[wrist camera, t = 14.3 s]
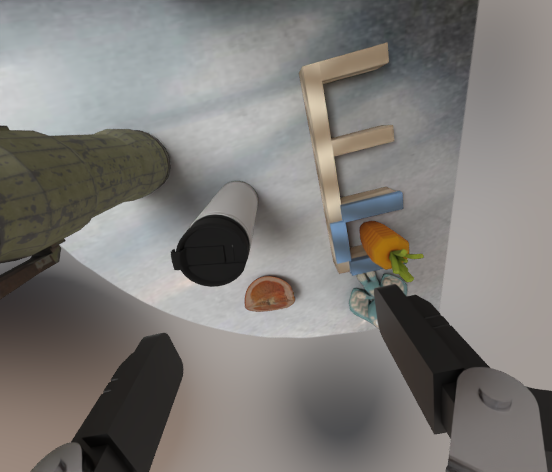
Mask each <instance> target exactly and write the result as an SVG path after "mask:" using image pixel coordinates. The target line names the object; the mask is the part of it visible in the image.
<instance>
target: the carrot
mask: <svg viewBox="0 0 552 472" xmlns="http://www.w3.org/2000/svg"><path fill="white" fill-rule="evenodd" d="M360 239H361V242H362V245H363V248H364V250H365V251H366V253H367V254H368V256H369V257H370V259H371V260H372V261H373V262H374V263H376V264H377V265H379V266H380V267H382V268H384V269H391V268H392V270H393V273H395V274H399V275H400V276H401V277H402V278H403V279H404V280H405V281H406V282H412V281H413V280H414V278H413V276H412V275H411V274H410V273H409V272H408V268H407V267H406V266H405V265H404V264H403V263H407V262H408V260H407V258H410V259H420V258H424V256H423V254H409V243H408V241H407V240H405V239H404V238H403V237H401V236H400V235H399V234H397V233H396V232H394V231H393V230H391V229H390V228H388V227H387V226H385V225H384V224H381V223H379V222H376V221H368V222H364V223H363V224H362V225H361V226H360Z"/></svg>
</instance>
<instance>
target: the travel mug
mask: <svg viewBox="0 0 552 472" xmlns="http://www.w3.org/2000/svg"><path fill="white" fill-rule="evenodd" d="M257 206H258V197H257V194H256V192H255V190H254V189H253V188H252V187H251V186H250V185H249V184H247V183H245V182H241V181H232V182H229V183H227V184H225V185H224V186H223V187H222V188H221V189H220V191H219V192H218V193H217V194H216V195H215V197H214V198H213V199H212V200H211V201H210V203H209V204H208V205H207V206H206V207H205V209H204V210H203V211H202V212H201V214H200V215H199V216H198V217H197V218H196V220H195V221H194V222H193V223H192V224H191V226H190V227H189V229H188V230H187V231H186V233H185V234H184V235H183V236H182V238H181V239H180V241H179V243H178V245H177V249H176V252H175V249H173V250H172V251H171V258H172V263H173V267H174V270H181V271H182V273H183V274H184V275H185V276H186V277H187V278H188V279H190V280H191V281H193V282H195V283H197V284H200V285H203V286H210V287H212V286H222V285H225V284H228V283H230V282H232V281H234V280H235V279H236V278H238V277H239V276H240V275H241V273H242V272H243V271H244V268H245V265H246V262H247V259H248V255H249V252H250V246H251V241H252V235H253V230H254V224H255V218H256V212H257Z"/></svg>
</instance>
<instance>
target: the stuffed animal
mask: <svg viewBox="0 0 552 472" xmlns="http://www.w3.org/2000/svg"><path fill="white" fill-rule="evenodd" d="M366 275H367V276H368V277H369V279H370V280H369V281H367V278H366ZM366 275H365V273H362V274H358V275H357V278H358V280H359V282H360V283H361V284H362V285H363V286H364V289H365V290H366V291H367V292H368V293H369V294H370V295H368V294H367V293H366V291H363V290H359V289H357V288H354V289H353V290H352V293H351V297H350V300H349V306H350V310H351V311H352V312H353V313H354V314H355V315H357V316H359V317H361V318H363V319H365V320H366V321H368V322H370V323H372V324H373V325H374V326H376V327H377V328H379V326H378V322H377V314H376V306H375V298H374V288H378V287H382V286H387V285H392V284H397V285H398V286H399V288H400V289H401V290H402V291H403V293H404V294H405V295H407V284H406V283H405V282H404V281H403V280H401V279H400V278H398V277H395V276H392V275H389V274H383V277H382V279H381V282H380V284H379V282H378V280H377V279H376V274H375V272H374V271H371V272H367V273H366ZM373 298H374V300H373V301H372V302H371V303H370V300H371V299H373Z"/></svg>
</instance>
